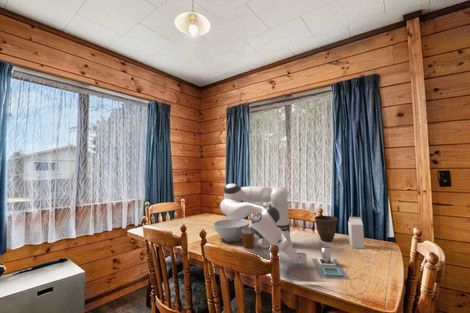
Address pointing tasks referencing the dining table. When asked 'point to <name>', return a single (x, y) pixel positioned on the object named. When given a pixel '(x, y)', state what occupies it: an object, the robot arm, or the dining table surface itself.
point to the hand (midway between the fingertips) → (297, 257)
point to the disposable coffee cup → (247, 237)
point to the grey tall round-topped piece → (326, 255)
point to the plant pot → (326, 227)
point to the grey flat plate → (330, 270)
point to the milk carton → (356, 232)
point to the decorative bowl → (230, 229)
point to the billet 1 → (303, 261)
